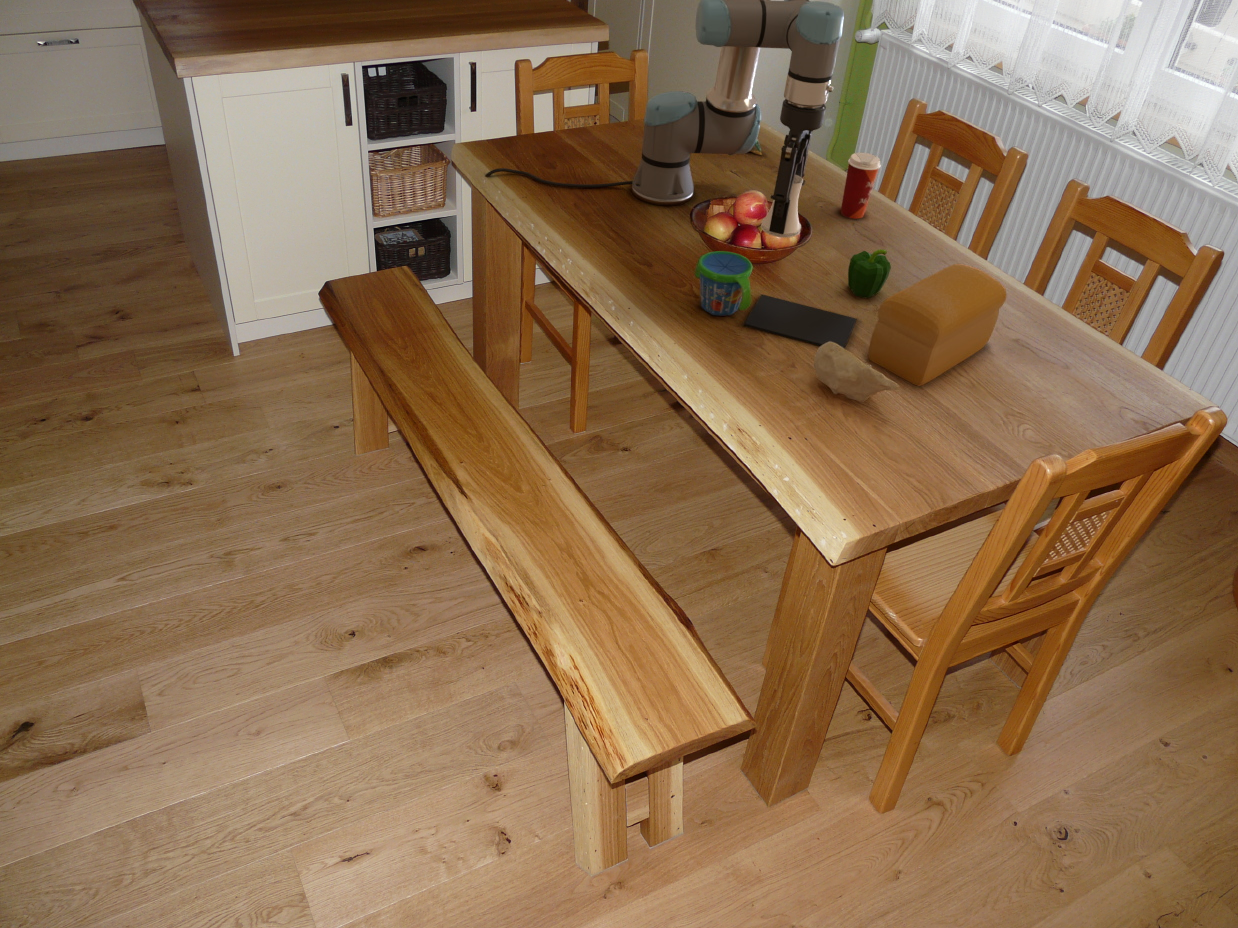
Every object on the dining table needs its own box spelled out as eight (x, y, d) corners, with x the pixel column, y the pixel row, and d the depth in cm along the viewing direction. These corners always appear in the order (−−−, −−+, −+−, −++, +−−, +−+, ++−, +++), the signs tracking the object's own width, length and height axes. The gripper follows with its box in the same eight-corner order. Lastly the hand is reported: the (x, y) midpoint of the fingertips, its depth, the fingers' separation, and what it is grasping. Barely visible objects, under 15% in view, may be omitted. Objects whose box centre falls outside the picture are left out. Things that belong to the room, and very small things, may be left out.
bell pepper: (840, 296, 195) (850, 253, 189) (846, 279, 201) (857, 237, 195) (879, 306, 194) (892, 262, 187) (885, 288, 200) (897, 245, 193)
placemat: (743, 326, 184) (743, 323, 184) (761, 296, 193) (761, 294, 193) (842, 352, 179) (843, 349, 178) (856, 321, 188) (856, 318, 188)
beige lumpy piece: (800, 375, 175) (803, 366, 161) (823, 343, 175) (828, 331, 160) (868, 422, 173) (877, 417, 159) (892, 389, 173) (903, 382, 158)
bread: (920, 388, 171) (944, 318, 161) (863, 357, 178) (883, 288, 168) (989, 345, 184) (1015, 278, 175) (934, 317, 191) (956, 251, 182)
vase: (808, 230, 177) (818, 180, 171) (785, 242, 173) (794, 191, 167) (776, 216, 181) (785, 167, 175) (752, 227, 177) (761, 177, 170)
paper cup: (867, 222, 224) (882, 166, 215) (835, 218, 225) (848, 161, 216) (867, 209, 230) (881, 154, 221) (836, 204, 231) (849, 149, 222)
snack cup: (677, 294, 192) (683, 249, 185) (721, 285, 196) (728, 241, 189) (715, 332, 181) (722, 286, 175) (761, 322, 185) (769, 277, 179)
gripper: (812, 123, 154) (787, 250, 168) (838, 90, 168) (812, 210, 182) (769, 114, 156) (748, 240, 170) (797, 82, 170) (775, 201, 184)
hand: (781, 224), depth 176 cm, fingers closed on vase, 6 cm apart
